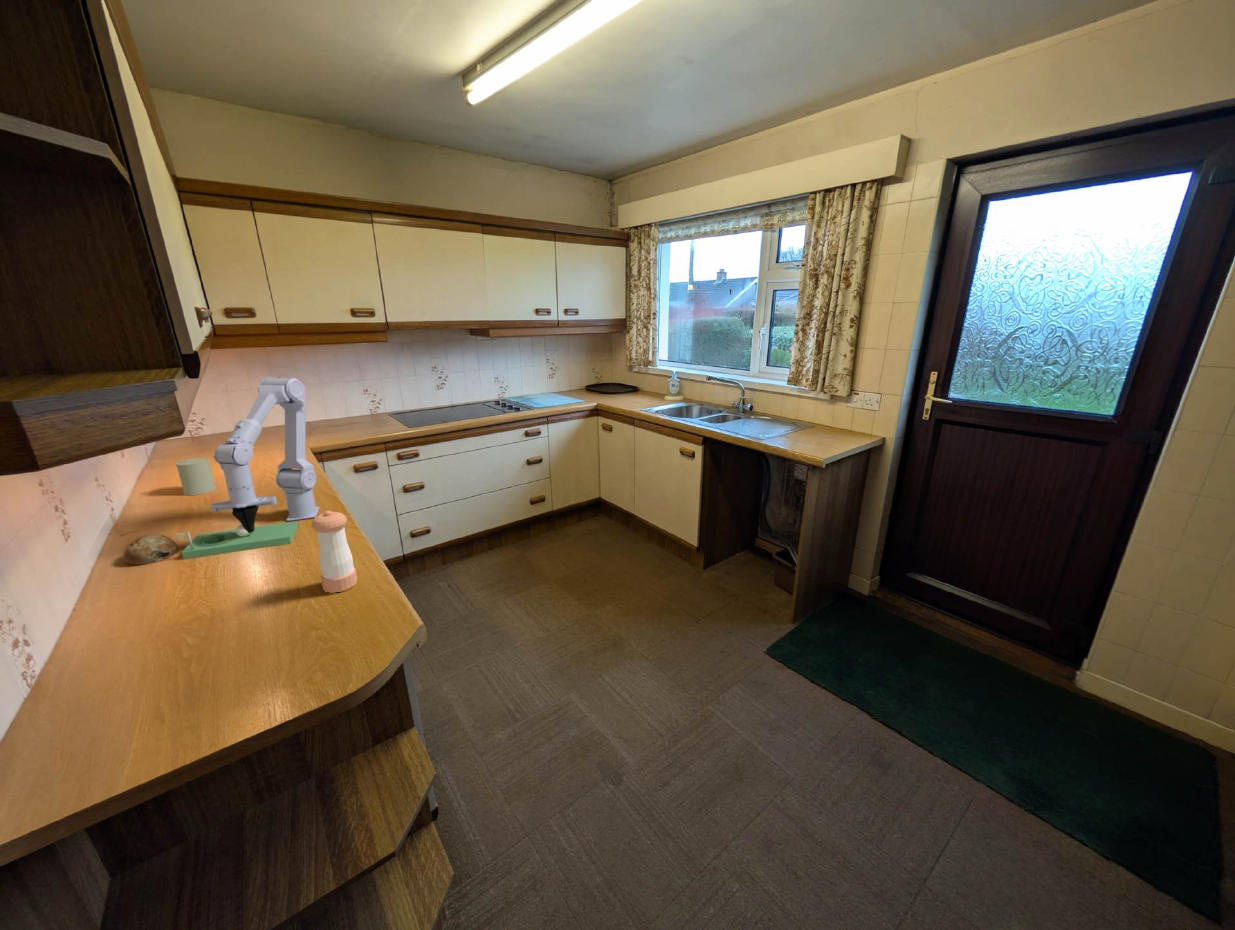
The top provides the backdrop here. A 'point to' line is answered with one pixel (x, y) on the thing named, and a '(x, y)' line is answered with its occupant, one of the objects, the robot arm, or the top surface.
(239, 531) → the ball
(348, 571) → the pepper shaker
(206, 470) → the can
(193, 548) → the green
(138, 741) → the top surface
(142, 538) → the brown rounded lump
